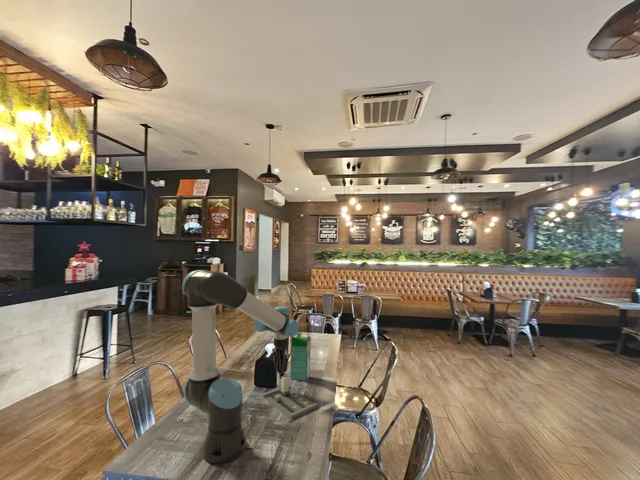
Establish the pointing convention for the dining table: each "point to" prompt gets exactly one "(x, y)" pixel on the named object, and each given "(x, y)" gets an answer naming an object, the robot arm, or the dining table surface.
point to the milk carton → (300, 357)
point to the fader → (285, 385)
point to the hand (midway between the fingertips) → (280, 384)
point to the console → (290, 403)
